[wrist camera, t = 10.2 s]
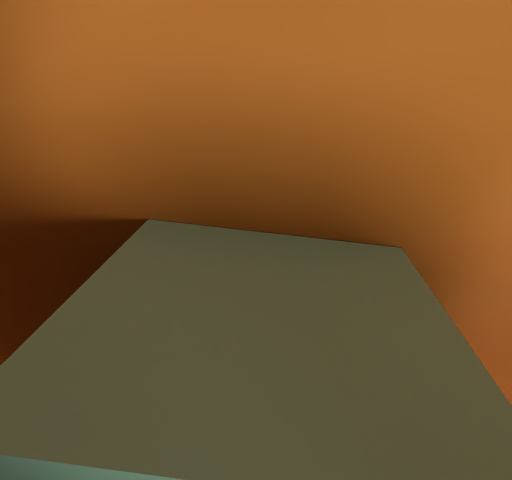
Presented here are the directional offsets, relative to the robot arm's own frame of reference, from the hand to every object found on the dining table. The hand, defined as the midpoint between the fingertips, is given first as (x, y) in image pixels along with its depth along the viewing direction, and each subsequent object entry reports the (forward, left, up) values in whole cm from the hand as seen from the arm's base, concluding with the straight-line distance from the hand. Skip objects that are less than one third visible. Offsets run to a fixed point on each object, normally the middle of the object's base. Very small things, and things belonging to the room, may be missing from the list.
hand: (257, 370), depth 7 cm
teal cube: (0, 0, -1) cm, 1 cm away
